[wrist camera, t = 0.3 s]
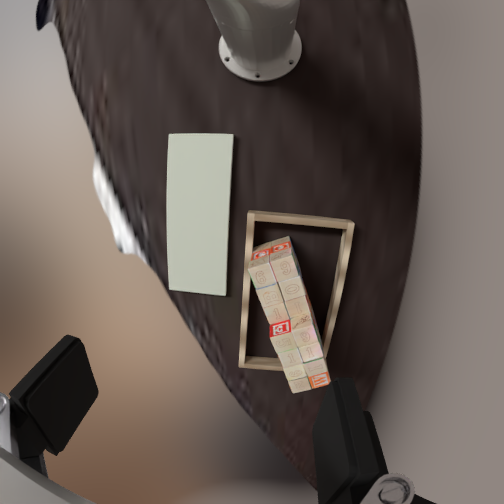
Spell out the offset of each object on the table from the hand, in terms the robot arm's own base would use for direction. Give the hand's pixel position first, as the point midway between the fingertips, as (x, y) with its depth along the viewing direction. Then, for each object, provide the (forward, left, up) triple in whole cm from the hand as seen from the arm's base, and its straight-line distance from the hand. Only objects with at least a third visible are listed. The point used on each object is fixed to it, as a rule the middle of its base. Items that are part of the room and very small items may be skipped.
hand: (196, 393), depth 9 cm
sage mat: (+2, -9, -36) cm, 37 cm away
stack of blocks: (+15, +7, -36) cm, 40 cm away
